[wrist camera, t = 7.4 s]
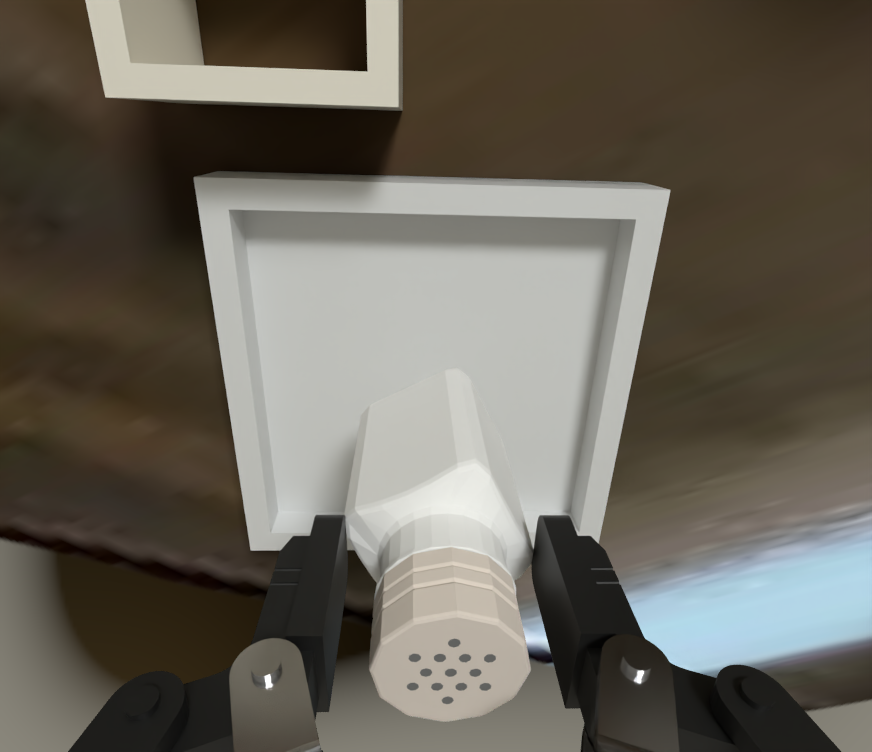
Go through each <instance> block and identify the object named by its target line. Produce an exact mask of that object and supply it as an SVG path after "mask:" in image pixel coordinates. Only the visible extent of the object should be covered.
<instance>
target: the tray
mask: <svg viewBox="0 0 872 752" xmlns="http://www.w3.org/2000/svg"><path fill="white" fill-rule="evenodd" d="M193 178H194V184H195V191H196V197H197V204H198V210H199V217H200V223H201V230H202V236H203V243H204V249H205V256H206V262H207V269H208V275H209V282H210V288H211V295H212V301H213V308H214V315H215V321H216V328H217V334H218V341H219V347H220V354H221V360H222V367H223V373H224V380H225V386H226V393H227V399H228V406H229V412H230V419H231V425H232V432H233V438H234V445H235V451H236V458H237V464H238V471H239V477H240V484H241V490H242V497H243V503H244V510H245V516H246V523H247V529H248V536H249V542H250V549H251V551H257V550H281V549H282V548H283V547H284V546H285V545H286V544H287V542H288V541H289V540H290V539H291V538H292V537H293V536H310V534H311V530H312V526H313V522H314V518H315V516H316V515H344V513H345V507H346V502H347V496H348V490H349V484H350V478H351V472H352V466H353V460H354V454H355V448H356V443H357V437H358V431H359V425H360V419H361V414H362V413H363V412H364V411H365V410H366V409H367V407H368V406H369V405H371V404H373V403H375V402H377V401H379V400H381V399H383V398H385V397H387V396H390V395H392V394H394V393H396V392H398V391H400V390H403V389H405V388H407V387H409V386H411V385H413V384H415V383H418V382H420V381H422V380H424V379H426V378H428V377H431V376H433V375H435V374H437V373H439V372H441V371H443V370H446V369H451V368H458V369H460V370H461V371H462V372H463V373H465V374H466V375H467V376H468V377H469V378H470V380H471V381H472V383H473V385H474V387H475V389H476V391H477V393H478V395H479V397H480V399H481V401H482V403H483V405H484V406H485V408H486V410H487V412H488V414H489V416H490V418H491V420H492V422H493V424H494V426H495V428H496V429H497V431H498V433H499V435H500V437H501V439H502V441H503V444H504V448H505V451H506V455H507V458H508V462H509V465H510V469H511V472H512V476H513V480H514V483H515V487H516V490H517V494H518V497H519V501H520V504H521V508H522V511H523V515H524V518H525V522H526V525H527V529H528V532H529V536H530V539H531V543H532V546H533V549H534V542H535V535H536V528H537V521H538V518H539V516H540V515H569V516H570V518H571V520H572V522H573V525H574V527H575V530H576V532H577V535H578V536H591V537H592V538H593V539H594V540H595V541H596V542H597V543H599V538H600V533H601V528H602V523H603V519H604V514H605V509H606V504H607V499H608V494H609V489H610V484H611V479H612V474H613V470H614V465H615V460H616V455H617V450H618V445H619V440H620V435H621V430H622V425H623V421H624V416H625V411H626V406H627V401H628V396H629V391H630V386H631V381H632V376H633V372H634V367H635V362H636V357H637V352H638V347H639V342H640V337H641V332H642V327H643V323H644V318H645V313H646V308H647V303H648V298H649V293H650V288H651V283H652V278H653V274H654V269H655V264H656V259H657V254H658V249H659V244H660V239H661V234H662V229H663V225H664V220H665V215H666V210H667V205H668V200H669V195H670V190H669V189H665V188H661V187H657V186H654V185H650V184H646V183H641V182H605V181H568V180H532V179H495V178H459V177H422V176H386V175H349V174H313V173H276V172H240V171H216V172H212V173H208V174H204V175H200V176H196V177H193ZM347 550H354V548H353V546H352V545H351V543H350V541H349V539H348V538H347Z"/></svg>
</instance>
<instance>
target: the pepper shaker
mask: <svg viewBox="0 0 872 752" xmlns="http://www.w3.org/2000/svg"><path fill="white" fill-rule="evenodd" d="M344 515H345V517H346V519H345V520H346V535H347V538H348V539H349V541H350V543H351V545H352V546H353V548H354V550H355V552H356V553H357V555H358V557H359V558H360V560H361V562H362V563H363V565H364V566H365V567H366V569H367V570H368V572H369V573H370V575H371V576H372V578H373V579H374V580H375V581H376V583H377V585H376V590H375V595H374V605H373V621H372V631H371V633H372V637H371V645H370V657H369V670H370V673H371V676H372V678H373V681H374V684H375V686H376V689H377V692H378V694H379V697H380V698H382V699H383V700H385V701H386V702H388V703H389V704H391V705H392V706H394V707H395V708H397V709H399V710H400V711H402V712H403V713H404V714H406V715H408V716H413V717H419V718H425V719H431V720H436V721H442V722H447V721H454V720H460V719H465V718H472V717H478V716H483V715H485V714H487V713H488V712H490V711H492V710H494V709H496V708H497V707H499V706H500V705H503V704H504V703H506V702H508V701H509V700H511V699H513V698H514V697H515V696H516V694H517V693H518V691H519V689H520V688H521V686H522V684H523V683H524V681H525V679H526V678H527V676H528V674H529V673H530V670H531V668H530V662H529V656H528V651H527V646H526V640H525V636H524V631H523V627H522V622H521V618H520V613H519V609H518V604H517V599H516V586H515V583H514V580H516V579H518V578H519V577H521V576H522V574H523V573H524V572H525V571H526V569H527V568H528V567H529V566H530V564H531V563H532V558H533V546H532V543H531V539H530V536H529V532H528V529H527V525H526V522H525V518H524V515H523V511H522V508H521V504H520V501H519V497H518V494H517V490H516V487H515V483H514V480H513V476H512V472H511V469H510V465H509V462H508V458H507V455H506V451H505V448H504V444H503V441H502V439H501V437H500V435H499V433H498V431H497V429H496V428H495V426H494V424H493V422H492V420H491V418H490V416H489V414H488V412H487V410H486V408H485V406H484V405H483V403H482V401H481V399H480V397H479V395H478V393H477V391H476V389H475V387H474V385H473V383H472V381H471V380H470V378H469V377H468V376H467V375H466V374H465V373H463V372H462V371H461V370H460V369H458V368H451V369H446V370H443V371H441V372H439V373H437V374H435V375H433V376H431V377H428V378H426V379H424V380H422V381H420V382H418V383H415V384H413V385H411V386H409V387H407V388H405V389H403V390H400V391H398V392H396V393H394V394H392V395H390V396H387V397H385V398H383V399H381V400H379V401H377V402H375V403H373V404H371V405H369V406H368V407H367V409H366V410H365V411H364V412H363V413H362V414H361V419H360V425H359V431H358V437H357V443H356V448H355V454H354V460H353V466H352V472H351V478H350V484H349V490H348V496H347V502H346V507H345V513H344Z"/></svg>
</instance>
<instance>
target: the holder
mask: <svg viewBox="0 0 872 752" xmlns="http://www.w3.org/2000/svg"><path fill="white" fill-rule="evenodd" d="M85 1H86V6H87V10H88V15H89V20H90V25H91V30H92V35H93V39H94V44H95V49H96V54H97V59H98V64H99V68H100V73H101V78H102V83H103V88H104V93H105V97H107V98H120V99H133V100H146V101H159V102H171V103H184V104H212V105H242V106H273V107H303V108H333V109H364V110H394V111H403V0H366V23H367V69H368V72H365V71H337V70H310V69H282V68H254V67H226V66H204V60H203V52H202V45H201V37H200V30H199V23H198V15H197V8H196V0H85Z"/></svg>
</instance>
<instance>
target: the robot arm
mask: <svg viewBox="0 0 872 752" xmlns="http://www.w3.org/2000/svg"><path fill="white" fill-rule="evenodd" d="M345 519H346V517H345V515H316V516H315V518H314V522H313V526H312V530H311V534H310V536H293V537H292V538H291V539H290V540H289V541H288V542H287V544H286V545H285V546H284V547H283V548H282V549H281V550H280V553H279V556H278V559H277V563H276V566H275V571H274V572H273V576H272V579H271V582H270V586H269V589H268V592H267V595H266V598H265V602H264V605H263V608H262V611H261V615H260V618H259V621H258V624H257V628H256V631H255V635H254V637H253V640H252V643H251V645H250V646H249V647H248V648H246V649H245V650H244V651H243V652H242V653H241V654H240V655H239V656H238V657H237V658H236V660H235V661H234V663H233V665H232V666H230V667H229V668H227V669H226V670H224V671H222V672H220V673H218V674H215V675H212V676H209V677H206V678H203V679H199V680H196V681H193V682H190V683H186V684H183V683H182V681H181V680H180V679H179V678H178V677H177V676H176V675H174V674H172V673H169V672H164V671H155V672H149V673H146V674H142V675H140V676H138V677H136V678H134V679H132V680H130V681H128V682H127V683H126V684H124V685H123V686H122V687H120V688H119V689H118V690H117V691H116V692H115V693H114V694H113V695H112V696H111V698H110V699H109V700H108V701H107V703H106V704H105V705H104V707H103V708H102V709H101V710H100V712H99V713H98V714H97V716H96V717H95V719H93V721H92V722H91V723H90V724H89V726H88V727H87V728H86V730H85V731H84V732H83V733H82V735H81V736H80V737H79V739H78V740H77V741H76V742H75V744H74V745H73V746H72V747H71V749H70V750H69V751H68V752H323V751H322V750H321V748H320V743H319V738H318V733H317V728H316V724H315V719H316V712H329V707H330V700H331V693H332V686H333V679H334V672H335V664H336V658H337V650H338V643H339V637H340V629H341V622H342V615H343V608H344V601H345V594H346V587H347V576H348V553H347V535H346V520H345ZM532 579H533V585H534V589H535V593H536V597H537V601H538V605H539V608H540V612H541V616H542V620H543V624H544V628H545V632H546V636H547V639H548V643H549V647H550V651H551V655H552V659H553V663H554V666H555V670H556V674H557V678H558V682H559V686H560V690H561V694H562V697H563V701H564V705H565V708H580V709H581V712H582V716H583V719H584V727H583V732H582V740H581V752H841V751H840V750H839V749H838V748H837V746H836V745H835V744H834V743H833V742H832V741H831V740H830V739H829V738H828V737H827V735H826V734H825V733H824V732H823V731H822V730H821V729H820V728H819V727H818V726H817V724H816V723H815V722H814V721H813V720H812V719H811V718H810V717H809V716H808V715H807V713H806V712H805V711H804V710H803V709H802V708H801V707H800V706H799V705H798V703H797V702H796V701H795V700H794V699H793V698H792V697H791V696H790V695H789V693H788V692H787V691H786V690H785V689H784V688H783V687H782V686H781V685H780V684H779V683H778V682H777V681H775V680H774V679H773V678H771V677H770V676H768V675H767V674H765V673H763V672H762V671H760V670H757V669H755V668H752V667H749V666H745V665H730V666H727V667H725V668H723V669H722V670H721V671H720V672H719V674H718V676H717V678H714V677H711V676H707V675H703V674H700V673H696V672H693V671H689V670H686V669H683V668H680V667H678V666H675V665H673V664H671V663H670V662H669V661H668V659H667V657H666V656H665V655H664V654H663V652H662V651H661V650H660V649H659V648H658V647H656V646H655V645H654V644H652V643H651V642H649V641H648V640H646V639H645V638H644V636H643V634H642V632H641V630H640V627H639V625H638V623H637V621H636V618H635V616H634V614H633V612H632V609H631V607H630V605H629V603H628V600H627V598H626V596H625V594H624V592H623V589H622V587H621V585H619V580H618V578H617V576H616V574H615V571H613V567H612V565H611V562H610V560H609V558H608V556H607V553H606V551H605V550H604V549H603V548H602V547H601V546H600V545H599V544H598V543H597V542H596V541H595V540H594V539H593V538H592V537H591V536H578V535H577V532H576V530H575V527H574V525H573V522H572V520H571V518H570V516H569V515H540V516H539V518H538V521H537V528H536V535H535V542H534V549H533V558H532Z"/></svg>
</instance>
